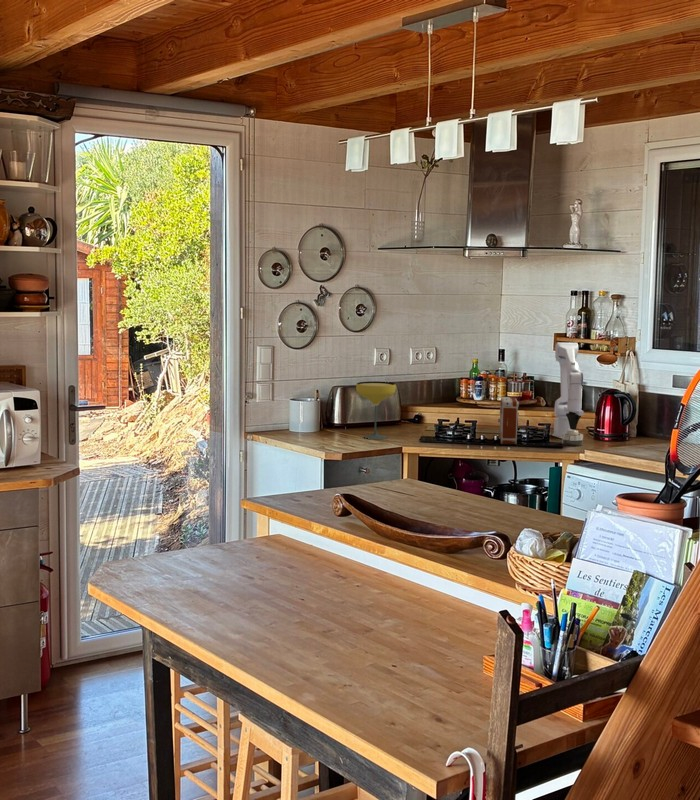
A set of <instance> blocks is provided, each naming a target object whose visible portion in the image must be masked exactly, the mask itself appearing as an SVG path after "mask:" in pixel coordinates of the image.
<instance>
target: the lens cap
mask: <svg viewBox="0 0 700 800" xmlns="http://www.w3.org/2000/svg"><path fill="white" fill-rule="evenodd" d="M578 433H579V430H567V435H570V436H578Z"/></svg>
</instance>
